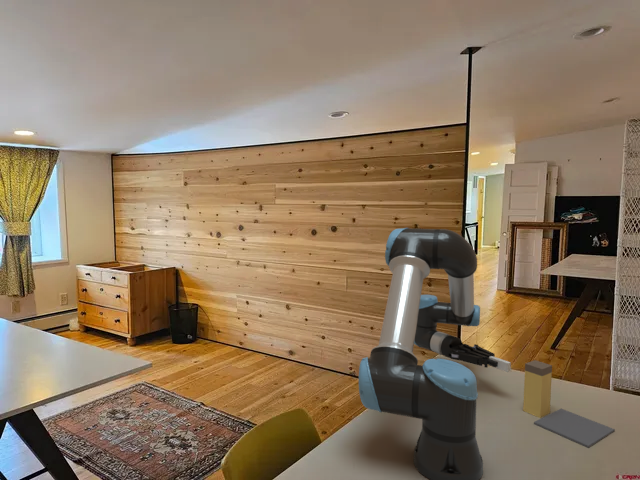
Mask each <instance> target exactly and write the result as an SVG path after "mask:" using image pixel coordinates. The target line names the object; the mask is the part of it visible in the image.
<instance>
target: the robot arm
mask: <svg viewBox="0 0 640 480" xmlns="http://www.w3.org/2000/svg"><path fill="white" fill-rule="evenodd" d="M384 258H385V259H384V260H385V263H386V265H387V267H388V268H389V270H390V272H391V275H392V276H391V281H390V286H389V290H388V296H387V301H386V304H385V305H386V306H385V310H384V315H383V320H382V321H383V322H382V324H381V325H382V326H381V331H380V335H379V336H380V337H379V341H378V345H376V346H373V347H372V349H371V350H370V354H369V357H368V356H366V357H362V359H361V361H360V362H359V366H358V393H359V397H360V401H361V403H362V405H363V407H365V408H366V409H369V410H373V411H375V412H376V411H377V412H378V413H387V414H392V415H397V416H402V417H403V416H404V417H410V418H415V419H419V420H422V427H421V431H420V433H419V437H418V439H417V440H416V441H417V442H416V444H415V446H414V449H413V464H414V467H415V468H416V469H417V471H418V472H419V473H420V474H421V475H422V476H424V477H426V478H427V479H428V480H481V478H482V476H483V473H484V460H483V458H482V455H481V452H480V449H479V445H478V441H477V437H476V432H477V431H476V429H477V399H478V397H479V394H478V385H477V377H476V375H475V373H474V372H473V371H472V370H471V369H470V368H468V367H466V366H465V365H464V364H462V363H458V362H456V361H461V362H465V363H469V364H472V365H476V366H479V367H482V366H483V367H484V368H488V366H491V367H492V368H495V369H498V370H501V371H503V372H506V373H509V372H511V370H512V369H511V367H512V364H511V363H512V362H510V361H507V360H505V359H502V358H499V357H496V356H495V353H494V352H492V351H489V350H487V349H485V348H484V347H482V346H479V344H473V346H470V344H468V343H463V342H462V340H461V339H460V338H459V337H458V336H455V335H451V334H449V333H446V332H442V331H440V330H437V326H438V324H448V325H456V326H465V327H478V326H479V325H480V323H481V322H480V321H481V307H480V306H479V305H478V304H475V290H474V289H475V287H474V285H475V284H474V282H475V281H474V279H475V278H474V276H475V275H474V274H475V272H476V271H477V268H478V258H477V255H476V252H475V249H474V248H473V246H472V245H471V243H470V242H469V241H468V240H467V239H465V238H464V237H463V235H460V234H459V233H458V232H456V231H454V230H451V229H446V228H440V229H439V228H411V227H404V228H396V229H393V230H392V231H391V232H390V234H389V236H388V238H387V240H386V245H385V253H384ZM431 270H444V273H446V274H447V279H448V291H449V300H450V302H445V301H444V302H443V301H438V296H436V295H433V294H422V291H423V290H422V289H423V283H424V279H426V278H427V277H428V276H429V275H430V274H431V273H430V272H431ZM414 345H415V346H417V347H419V348H421V349H425V350H428V351H431V352H433V353H436V354H438V355H439V356H444V357H446V358H449V359H445V358H430V359H429V358H428V359H427V360H425V361H424V362H423V364H422V365H420V364H419V363H418V362H419V360H418V357H417V355H415V354H414ZM453 360H455V361H453Z"/></svg>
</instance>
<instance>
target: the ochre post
mask: <svg viewBox="0 0 640 480" xmlns="http://www.w3.org/2000/svg"><path fill="white" fill-rule="evenodd" d="M552 373H553V365H551V364H548V363H547V362H546V363H545V362H542V361H539V360H536V359H534V360H532V361H530V362H525V364H524V380H523V381H524V386H523V408H522V411H523V412H525V413H527V414H530V415H533V416H535V417H536V418H538V419H541V418H543V417H545V416H547V415H549V414H551V397H552V395H551V394H552V377H553V376H552V375H553V374H552Z"/></svg>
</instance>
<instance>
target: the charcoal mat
mask: <svg viewBox="0 0 640 480" xmlns="http://www.w3.org/2000/svg"><path fill="white" fill-rule="evenodd" d="M533 425H536V426H538V427H540V428H542V429H545V430H547V431H550V432H551V433H554V434H556V435H558V436H560V437H562V438H565V439H567V440H570V441H572V442H575V443H576V444H579V445H581V446H582V447H585V448H588V449H589V448H590V447H592V446H594V445H595V444H598V442H600V441H601V440H603V439H604V438H605V439H606V437H608V436H609V435H611V434H612V433H614V432H615V430H616V429H615V428H612V427H610V426H608V425H605V424H602V423H601V422H597V421H595V420H592V419H589V418H586V417H584V416H581V415H580V414H576V413H575V412H571V411H569V410H566V409H563V408H559V409H557V410H555V411H552V412H550V413H549V414H547V415H545V416H543V417H541V418H538V419H537V420H535V421H534V422H533Z"/></svg>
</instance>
